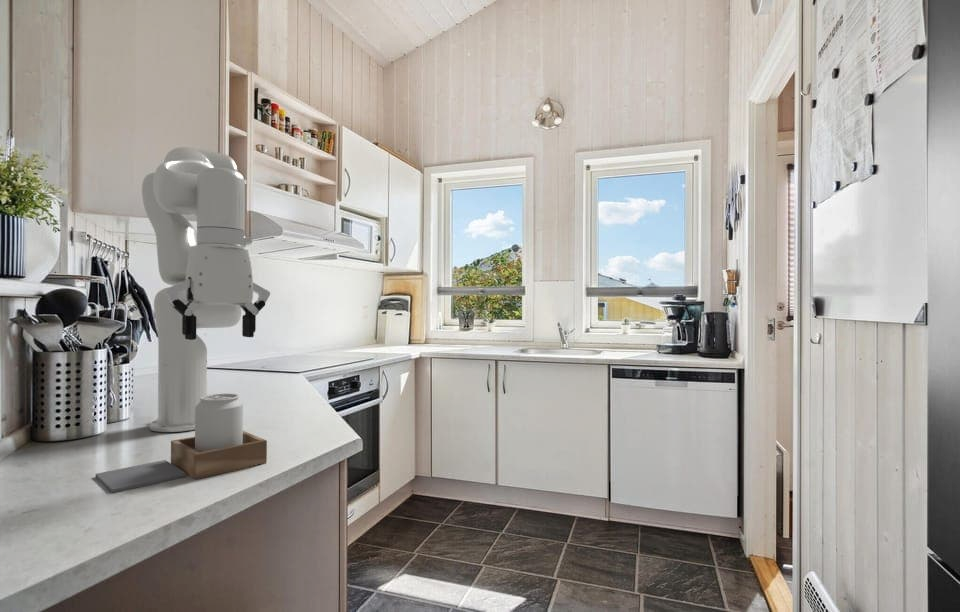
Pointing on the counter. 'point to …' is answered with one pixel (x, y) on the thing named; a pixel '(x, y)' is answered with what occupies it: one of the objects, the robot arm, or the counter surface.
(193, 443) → the walnut box
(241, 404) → the can
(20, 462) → the counter surface
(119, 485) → the rubber mat
